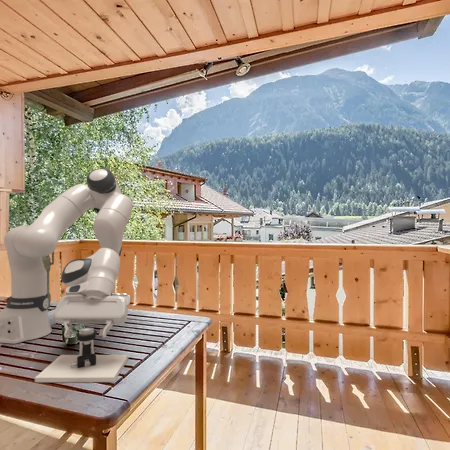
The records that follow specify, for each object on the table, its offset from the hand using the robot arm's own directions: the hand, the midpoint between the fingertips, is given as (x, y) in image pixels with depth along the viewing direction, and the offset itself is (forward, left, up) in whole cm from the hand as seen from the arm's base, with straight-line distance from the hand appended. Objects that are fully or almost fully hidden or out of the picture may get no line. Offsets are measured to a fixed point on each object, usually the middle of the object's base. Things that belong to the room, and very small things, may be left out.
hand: (84, 336), depth 90 cm
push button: (0, +1, -8) cm, 8 cm away
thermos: (-46, +64, -10) cm, 79 cm away
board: (0, +1, -9) cm, 9 cm away
